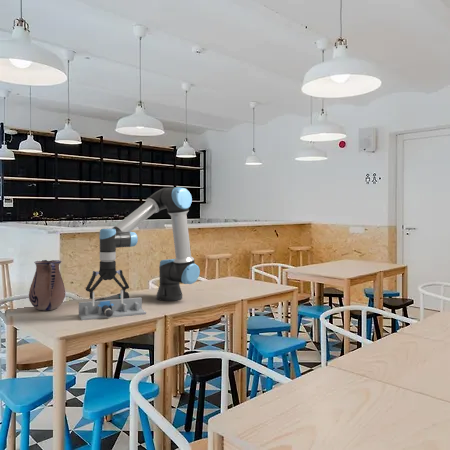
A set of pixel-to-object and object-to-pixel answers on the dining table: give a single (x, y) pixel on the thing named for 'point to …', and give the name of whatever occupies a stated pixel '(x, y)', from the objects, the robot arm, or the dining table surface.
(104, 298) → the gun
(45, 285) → the ceramic pitcher
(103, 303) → the spiked grey rail
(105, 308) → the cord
